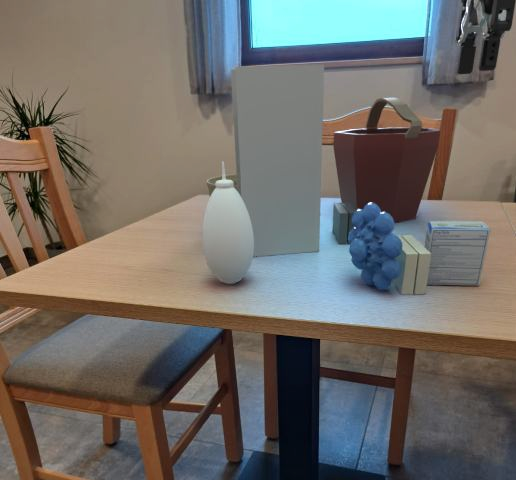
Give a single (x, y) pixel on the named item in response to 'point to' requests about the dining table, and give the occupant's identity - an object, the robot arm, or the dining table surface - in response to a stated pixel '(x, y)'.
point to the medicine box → (456, 252)
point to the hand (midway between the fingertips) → (474, 72)
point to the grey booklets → (342, 221)
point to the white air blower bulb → (227, 233)
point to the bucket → (386, 162)
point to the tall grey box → (280, 154)
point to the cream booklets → (412, 267)
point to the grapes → (375, 246)
